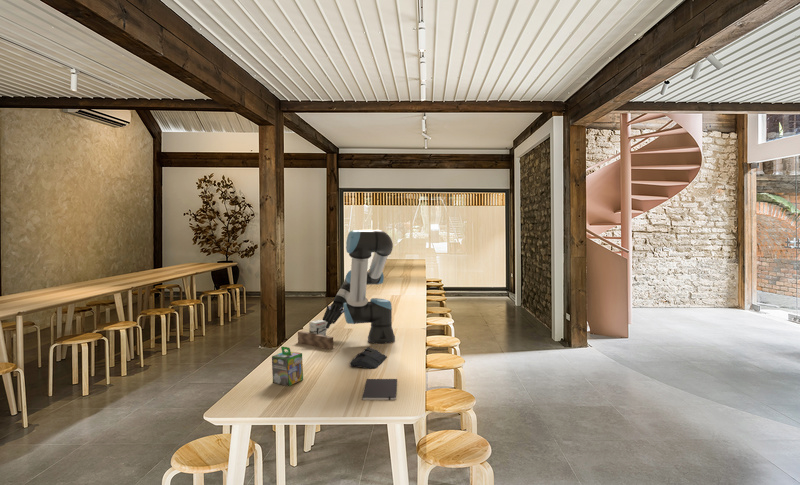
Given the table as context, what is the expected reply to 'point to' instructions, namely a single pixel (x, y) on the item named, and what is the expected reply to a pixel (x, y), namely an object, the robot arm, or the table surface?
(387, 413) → the table surface
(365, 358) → the dark slate chunk
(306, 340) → the walnut board
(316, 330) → the ink box
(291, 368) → the chalk box
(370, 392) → the notebook
